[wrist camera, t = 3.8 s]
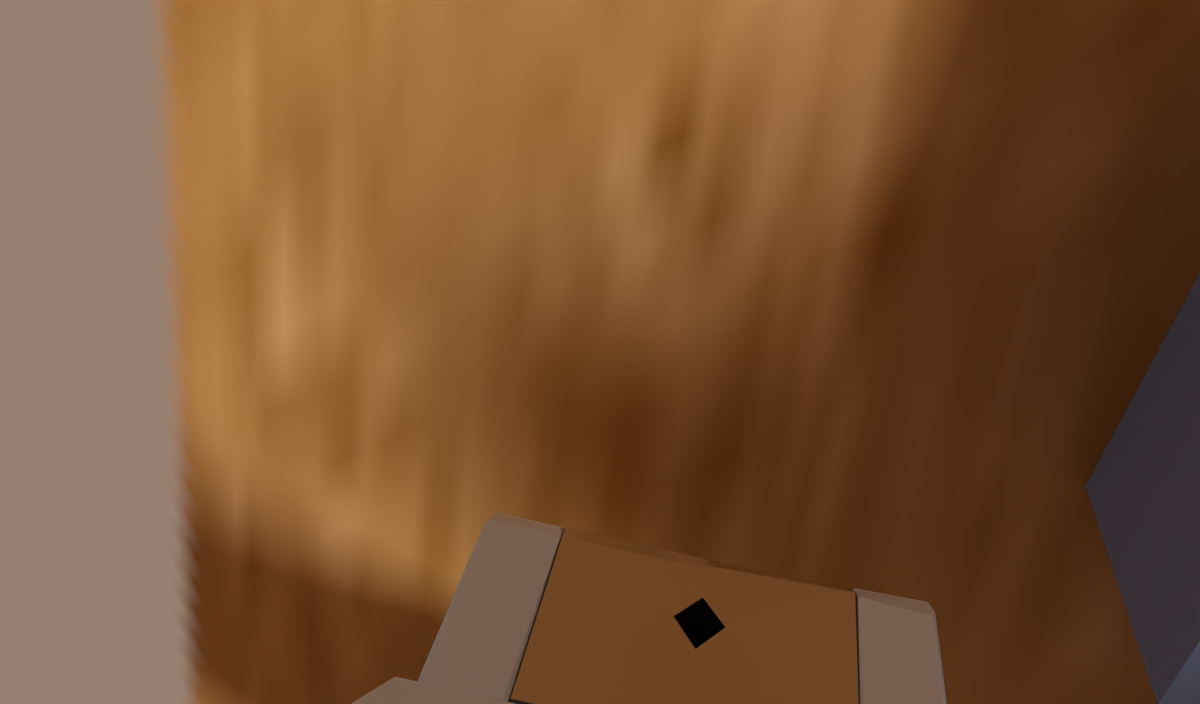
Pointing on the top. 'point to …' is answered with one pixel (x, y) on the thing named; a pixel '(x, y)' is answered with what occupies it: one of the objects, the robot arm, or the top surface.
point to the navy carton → (1159, 510)
